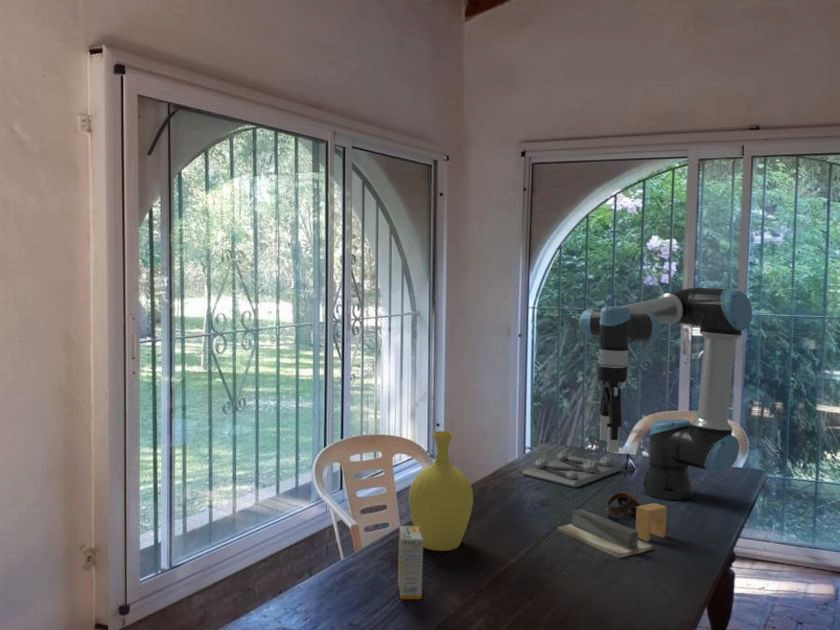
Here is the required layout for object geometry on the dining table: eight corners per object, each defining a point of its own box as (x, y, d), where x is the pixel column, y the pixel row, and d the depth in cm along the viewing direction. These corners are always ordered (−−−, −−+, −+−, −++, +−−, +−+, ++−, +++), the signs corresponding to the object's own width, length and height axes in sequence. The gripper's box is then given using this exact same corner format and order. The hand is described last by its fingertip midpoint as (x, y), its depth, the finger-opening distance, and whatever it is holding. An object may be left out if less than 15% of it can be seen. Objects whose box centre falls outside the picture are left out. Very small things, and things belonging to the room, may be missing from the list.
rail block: (589, 523, 221) (590, 505, 220) (652, 549, 202) (653, 530, 202) (557, 530, 214) (557, 512, 214) (618, 558, 196) (619, 538, 195)
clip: (653, 532, 215) (654, 502, 215) (665, 536, 212) (666, 506, 212) (635, 536, 212) (636, 506, 211) (646, 541, 208) (648, 510, 208)
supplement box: (396, 583, 177) (398, 525, 176) (418, 583, 177) (420, 525, 176) (399, 599, 168) (400, 538, 167) (422, 599, 169) (423, 538, 168)
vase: (478, 537, 207) (482, 430, 205) (461, 559, 192) (465, 443, 190) (419, 529, 212) (422, 424, 210) (398, 549, 197) (401, 436, 195)
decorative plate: (567, 461, 291) (568, 441, 290) (622, 473, 277) (623, 452, 276) (520, 476, 268) (520, 455, 268) (576, 490, 254) (577, 468, 254)
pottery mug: (648, 526, 222) (637, 502, 220) (616, 537, 224) (604, 514, 222) (640, 502, 233) (629, 479, 231) (609, 513, 235) (598, 491, 233)
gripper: (591, 359, 223) (588, 434, 225) (605, 371, 198) (601, 456, 200) (619, 360, 223) (615, 436, 224) (636, 373, 198) (631, 458, 199)
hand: (608, 445), depth 212 cm, fingers open, 13 cm apart
